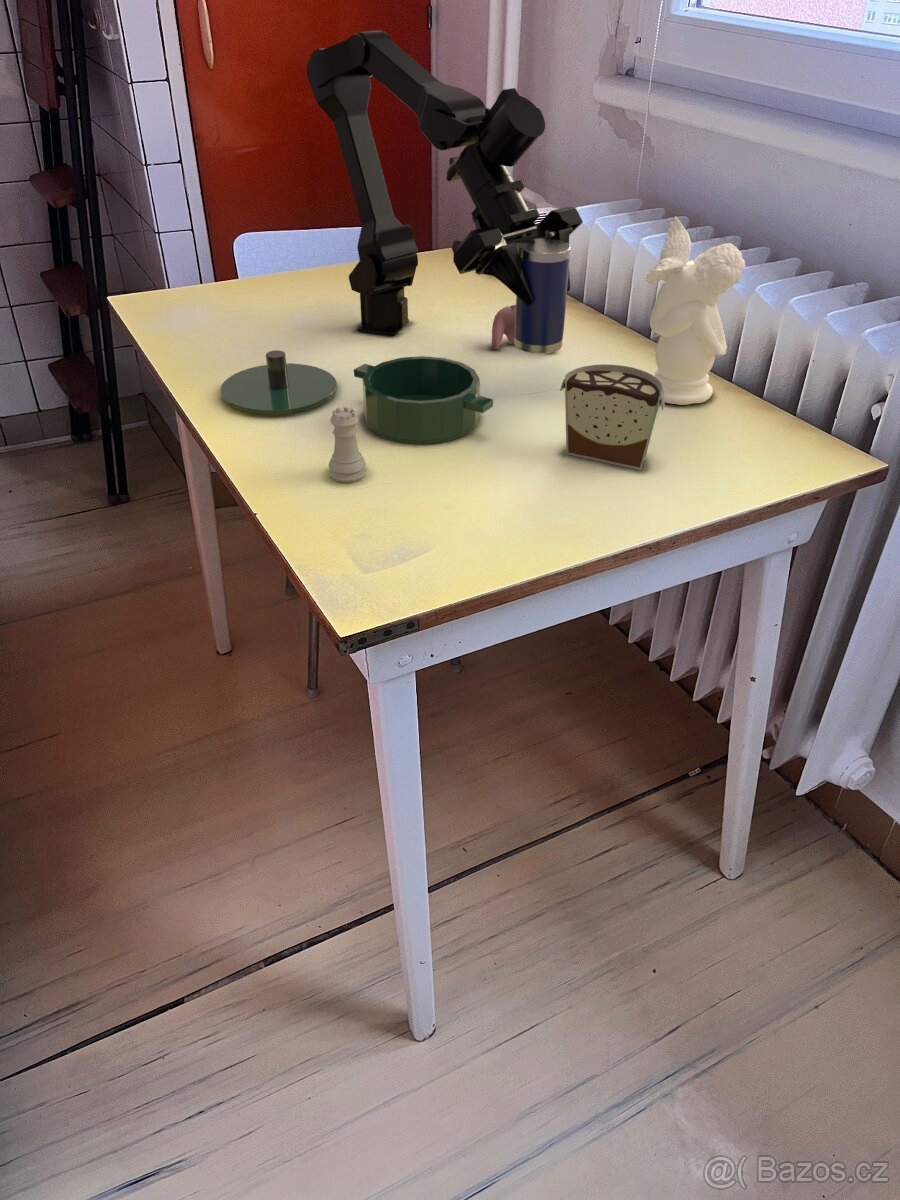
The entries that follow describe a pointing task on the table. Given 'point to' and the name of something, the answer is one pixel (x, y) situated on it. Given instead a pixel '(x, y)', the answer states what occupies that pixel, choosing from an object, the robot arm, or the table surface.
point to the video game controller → (503, 325)
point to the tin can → (543, 296)
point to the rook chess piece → (346, 448)
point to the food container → (611, 413)
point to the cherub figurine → (690, 313)
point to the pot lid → (278, 386)
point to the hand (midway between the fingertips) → (549, 297)
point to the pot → (421, 399)
